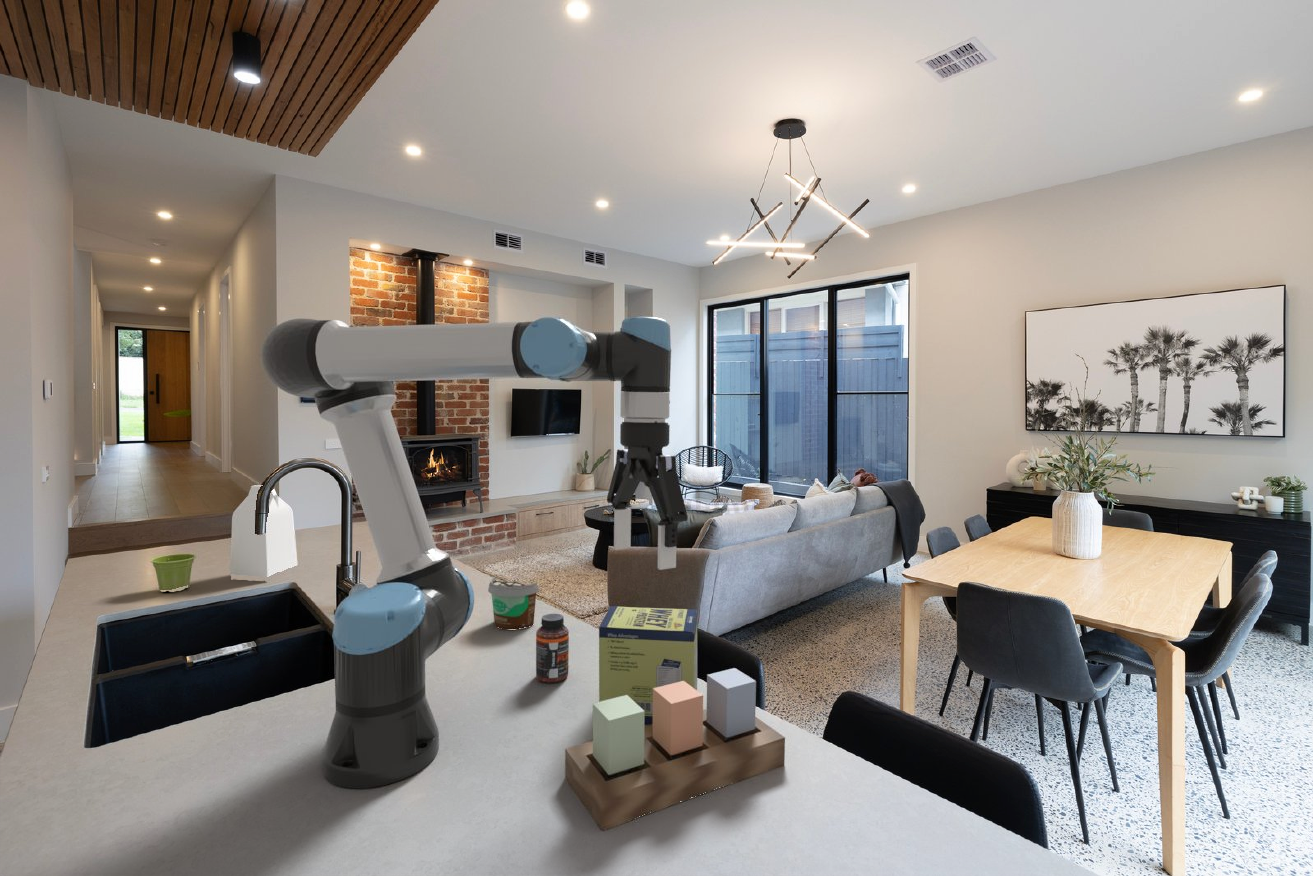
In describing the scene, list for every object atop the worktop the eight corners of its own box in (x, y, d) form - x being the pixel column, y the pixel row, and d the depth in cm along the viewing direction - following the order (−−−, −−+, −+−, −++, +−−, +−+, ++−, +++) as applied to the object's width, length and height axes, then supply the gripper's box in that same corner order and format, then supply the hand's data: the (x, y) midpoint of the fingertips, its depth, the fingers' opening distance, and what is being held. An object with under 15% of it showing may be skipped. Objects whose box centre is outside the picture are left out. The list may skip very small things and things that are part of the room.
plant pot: (189, 582, 171) (188, 551, 170) (202, 589, 165) (201, 556, 165) (146, 591, 163) (145, 558, 163) (159, 597, 158) (157, 564, 157)
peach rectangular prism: (670, 755, 82) (671, 703, 81) (652, 737, 86) (652, 688, 86) (702, 745, 84) (703, 695, 84) (683, 728, 88) (683, 680, 88)
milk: (229, 580, 174) (227, 488, 172) (262, 569, 185) (259, 482, 184) (267, 582, 172) (265, 489, 170) (298, 571, 183) (296, 483, 182)
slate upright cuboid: (726, 738, 86) (727, 688, 86) (706, 721, 90) (707, 674, 90) (755, 729, 89) (756, 681, 88) (734, 713, 93) (734, 667, 93)
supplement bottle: (562, 685, 111) (562, 623, 110) (530, 682, 112) (530, 621, 111) (573, 671, 117) (573, 612, 116) (543, 668, 118) (543, 610, 117)
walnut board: (601, 831, 73) (602, 798, 73) (565, 777, 84) (565, 748, 83) (784, 765, 87) (784, 737, 87) (733, 725, 97) (733, 701, 97)
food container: (476, 627, 139) (476, 583, 138) (493, 618, 145) (493, 576, 144) (523, 635, 134) (523, 590, 134) (539, 626, 140) (538, 582, 139)
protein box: (608, 692, 109) (609, 605, 108) (697, 697, 107) (698, 608, 106) (596, 722, 98) (597, 626, 97) (695, 728, 97) (696, 631, 96)
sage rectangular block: (608, 775, 77) (609, 720, 77) (592, 755, 82) (592, 703, 81) (644, 764, 80) (644, 711, 79) (626, 745, 84) (627, 695, 84)
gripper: (713, 423, 86) (710, 574, 87) (627, 418, 107) (625, 539, 109) (668, 423, 82) (666, 581, 83) (587, 418, 103) (586, 544, 105)
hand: (643, 558), depth 96 cm, fingers open, 13 cm apart
